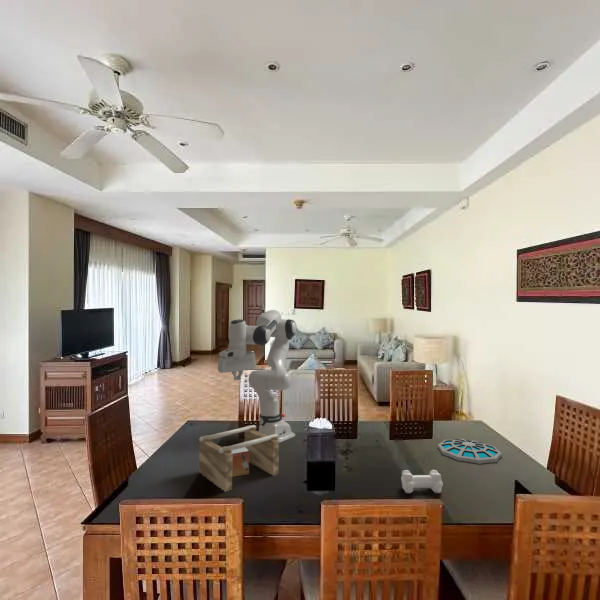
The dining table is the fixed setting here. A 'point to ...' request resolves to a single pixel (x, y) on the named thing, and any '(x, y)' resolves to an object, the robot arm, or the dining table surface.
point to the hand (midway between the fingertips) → (237, 379)
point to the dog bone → (421, 481)
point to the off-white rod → (247, 443)
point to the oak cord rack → (220, 464)
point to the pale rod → (226, 433)
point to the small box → (240, 462)
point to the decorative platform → (469, 451)
